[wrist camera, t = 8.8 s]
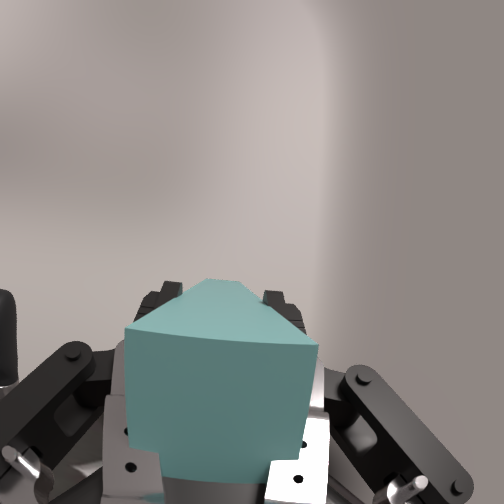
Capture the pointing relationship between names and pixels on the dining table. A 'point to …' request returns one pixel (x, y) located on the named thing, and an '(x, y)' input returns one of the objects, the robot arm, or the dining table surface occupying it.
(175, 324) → the teal tapered block
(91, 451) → the dining table surface
